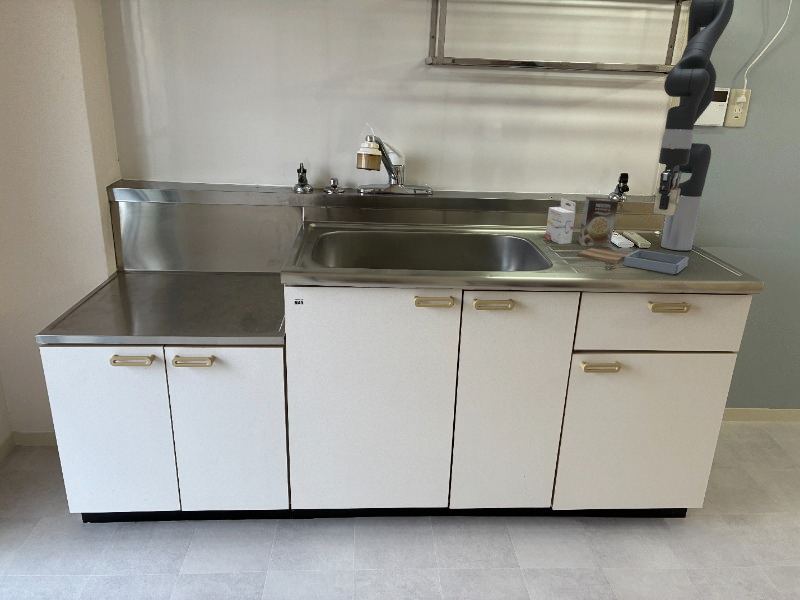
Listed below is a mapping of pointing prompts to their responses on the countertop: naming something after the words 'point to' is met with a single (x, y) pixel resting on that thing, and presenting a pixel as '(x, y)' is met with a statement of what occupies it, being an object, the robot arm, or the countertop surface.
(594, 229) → the coffee box
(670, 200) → the block
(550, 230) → the ink cartridge box
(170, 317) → the countertop surface
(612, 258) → the board
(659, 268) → the bin
